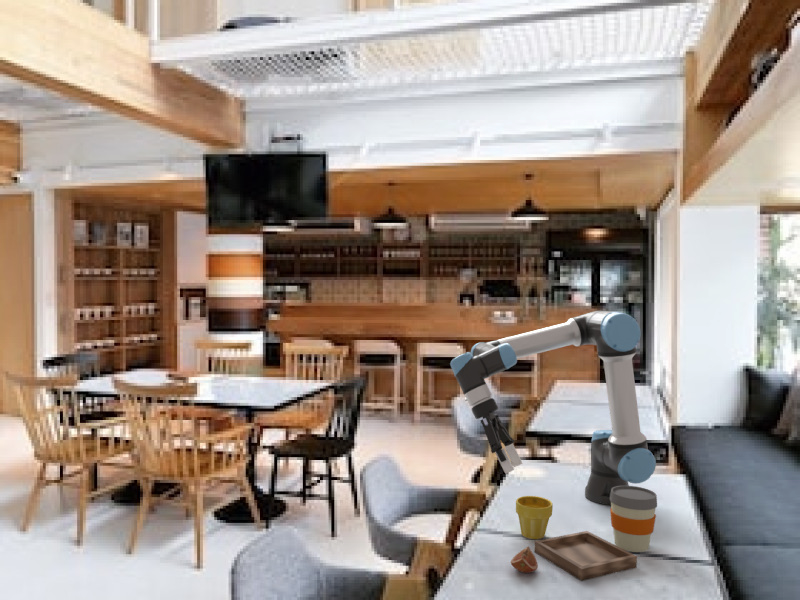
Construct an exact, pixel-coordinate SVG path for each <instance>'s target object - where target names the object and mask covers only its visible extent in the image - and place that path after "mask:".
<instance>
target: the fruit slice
mask: <svg viewBox="0 0 800 600" xmlns="http://www.w3.org/2000/svg"><path fill="white" fill-rule="evenodd" d="M510 565H511V566H512V567H513V568H514V569H516V570H517V571H519V572H522V573H525V574H526V573H527V574H528V573H533V572H535V571H536V570H538V568H539V564H538V561H537V558H536V555H535V554H534V552H533V551H532V549H531V548H530V547H529V546H527V547H525V548H523V549H522V550H520V551H519V552H518V553H516V554H515V555H514V556H513V557H512V559H511V560H510Z"/></svg>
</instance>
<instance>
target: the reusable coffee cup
mask: <svg viewBox="0 0 800 600" xmlns="http://www.w3.org/2000/svg"><path fill="white" fill-rule="evenodd" d="M610 501H611V505H610V506H611V508H610V509H609V511H610V520H611V521H610V523H611V527H612V528H613V539H614V545H616V546H618V547H620V548H622V549H624V550H626V551H628V552H630V553H643V552H644V553H645V552H646V551H648V550H649V548H650V543H651V536H652V533H654V529H655V524H656V523H655V522H656V517H657V515H656V508H657V507H658V497H657V494H656V492H655V491H653V490H651V489H647V488H644V487H641V486H635V485H629V486H616V487H613V488H612V489H611V493H610Z"/></svg>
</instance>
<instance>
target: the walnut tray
mask: <svg viewBox="0 0 800 600" xmlns="http://www.w3.org/2000/svg"><path fill="white" fill-rule="evenodd" d="M534 553H535V554H537V555H539V556H540V557H542V558H543V559H545V560H546V561H548V562H550V563H552V564H553V565H554V566H556V567H558V568H560V569H561V570H562V571H565V572H566V573H568V574H569V575H572V576H573V577H574V578H576V579H578V580H579V581H581V582H583V581H587V580H591V579H596V578H600V577H604V576H607V575H608V576H609V575H611V574H616V573H620V572H625V571H629V570H633V569H636V568H637V567H638V565H637V564H638V556H637V555H635V554H634V553H633V552H631V551H627V550H624V549H622V548H620V547H618V546H616V545H615V543H612V542H610V541H608V540H606V539H604V538H601V537H600V536H598V535H596V534H594V533H592V532H590V531H588V530H585V531H580V532H575V533H570V534H565V535H559V536H554V537H549V538H545V539H544V538H542V539H537V540H534Z"/></svg>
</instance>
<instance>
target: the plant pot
mask: <svg viewBox="0 0 800 600" xmlns="http://www.w3.org/2000/svg"><path fill="white" fill-rule="evenodd" d="M515 500H516V501H515V513H516V514H517V515H518V516H517V517H518V520H519V522H518V523H519V526H520V534H521V536H522V537H524V538H526V539H529V540H530V539H531V540H542V539H544V537H545V536H546V532H547V528H548V524H549V522H550V521H549V520H550V518H551V517H552V515H553V502H552V501H551V500H550V499H548V498H544V497H541V496H536V495H524V496H520V497H518V498H517V499H515Z"/></svg>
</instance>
